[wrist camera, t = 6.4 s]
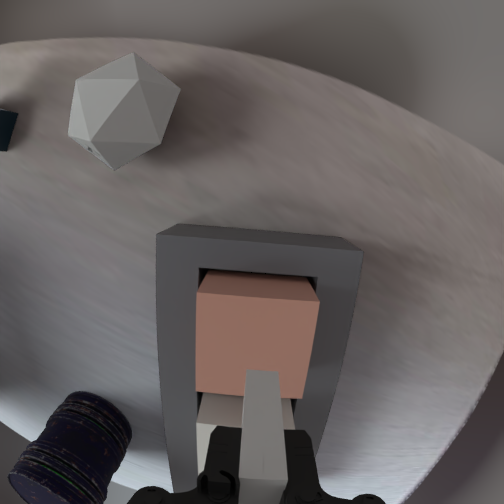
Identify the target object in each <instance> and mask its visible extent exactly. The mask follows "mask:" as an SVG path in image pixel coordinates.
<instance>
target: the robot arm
mask: <svg viewBox="0 0 504 504" xmlns="http://www.w3.org/2000/svg"><path fill="white" fill-rule="evenodd" d="M127 504H386V503H385V502H384V501H383V500H382V499H381V498H380V497H378V496H376V495H373V494H362V495H359V496H357V497H355V498H354V499H353V500H348V499H342V498H337V497H333V496H331V495H329V494H327V493H326V492H325V491H323V489H322V488H321V486H320V484H319V479H318V473H317V468H316V462H315V457H314V451H313V446H312V440H311V437H310V436H309V435H308V433H307V432H306V431H305V430H290V429H284V428H283V417H282V406H281V395H280V384H279V373H278V371H262V370H249V369H247V370H246V381H245V392H244V403H243V414H242V427H241V428H239V427H228V426H218V425H217V426H216V428H215V429H214V430H213V431H212V432H211V434H210V440H209V445H208V450H207V455H206V461H205V466H204V471H202V472H201V473H200V474H199V476H198V478H197V487H196V488H194V489H192V490H190V491H187V492H180V493H169V492H168V491H166V490H164V489H163V488H160V487H156V486H147V487H144V488H141V489H139V490H138V491H137V492H136V493H135V494H134V495H133V496H132V498H131V499H130V500H129V502H128V503H127Z"/></svg>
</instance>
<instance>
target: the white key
mask: <svg viewBox="0 0 504 504" xmlns="http://www.w3.org/2000/svg"><path fill="white" fill-rule="evenodd" d="M243 403H244V396H237V395H226V394H216V393H207V392H203V396H202V401H201V405H200V409H199V413H198V417H197V422H196V432H197V459H198V476H199V474H200V473H201V472H202V471H204V466H205V461H206V455H207V450H208V445H209V440H210V434H211V432H212V431H213V430H214V429H215V428H216V426H217V425H218V426H228V427H239V428H241V427H242V414H243ZM281 406H282V417H283V428H284V429H290V430H295V426H294V419H293V413H292V406H291V400H290V398H281Z"/></svg>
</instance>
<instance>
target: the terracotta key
mask: <svg viewBox="0 0 504 504" xmlns="http://www.w3.org/2000/svg"><path fill="white" fill-rule="evenodd" d="M319 304H320V301H319V299H318V297H317V295H316V294H315V292H314V290H313V288H312V286H311V285H310V283H309V281H308V279H307V277H296V276H282V275H269V274H257V273H244V272H232V271H220V270H208V272H207V274H206V276H205V278H204V280H203V281H202V283H201V285H200V287H199V289H198V291H197V297H196V391H198V392H207V393H216V394H226V395H237V396H244V392H245V381H246V370H247V369H249V370H262V371H278V373H279V384H280V395H281V398H297V399H302V396H303V392H304V387H305V382H306V377H307V372H308V367H309V362H310V356H311V351H312V346H313V340H314V334H315V329H316V323H317V317H318V311H319Z"/></svg>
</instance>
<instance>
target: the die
mask: <svg viewBox="0 0 504 504" xmlns="http://www.w3.org/2000/svg"><path fill="white" fill-rule="evenodd" d="M180 90H181V89H180V88H179V87H178V86H177V85H175V84H174V83H173V82H172V81H170V80H169V79H168V78H167V77H165V76H164V75H163V74H161V73H160V72H159V71H158V70H156V69H155V68H154V67H152V66H151V65H150V64H148V63H147V62H146V61H145V60H143V59H142V58H141V57H139V56H138V55H137V54H135V53H134V52H132V53H130V54H128V55H125V56H123V57H121V58H119V59H116V60H114V61H112V62H110V63H108V64H106V65H104V66H102V67H99V68H97V69H95V70H93V71H91V72H90V73H88V74H86V75H84V76H82V77H80V78H78V79H76V83H75V88H74V94H73V100H72V107H71V114H70V121H69V129H68V136H69V137H71V138H72V139H73V140H75V141H76V142H77V143H79V144H80V145H81V146H82V147H84V148H85V149H86V150H88V151H89V152H90V153H92V154H93V155H94V156H96V157H97V158H98V159H100V160H101V161H102V162H104V163H105V164H106V165H108V166H109V167H110V168H112V169H113V170H114V171H115V170H116V169H118V168H120V167H121V166H123V165H125V164H126V163H128V162H130V161H131V160H133V159H135V158H137V157H138V156H140V155H142V154H144V153H145V152H147V151H149V150H151V149H153V148H154V147H156V146H158V145H160V144H161V142H162V139H163V136H164V133H165V130H166V128H167V125H168V122H169V119H170V116H171V114H172V111H173V108H174V106H175V103H176V100H177V98H178V95H179V93H180Z"/></svg>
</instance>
